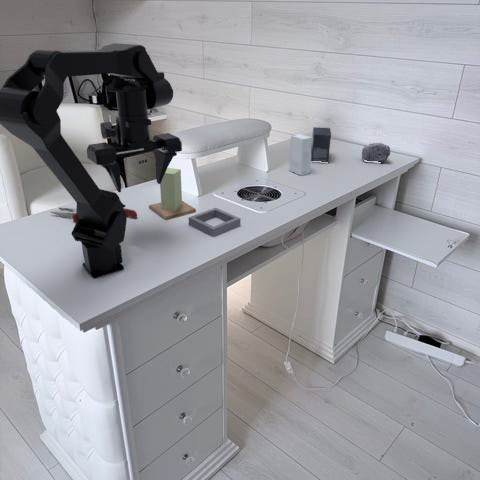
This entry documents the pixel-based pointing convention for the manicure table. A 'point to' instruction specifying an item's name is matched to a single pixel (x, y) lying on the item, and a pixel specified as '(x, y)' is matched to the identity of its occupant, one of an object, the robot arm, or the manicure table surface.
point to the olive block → (171, 190)
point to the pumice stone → (376, 152)
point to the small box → (320, 144)
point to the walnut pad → (172, 214)
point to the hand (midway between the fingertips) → (139, 187)
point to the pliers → (73, 215)
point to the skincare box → (300, 154)
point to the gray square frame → (230, 224)
